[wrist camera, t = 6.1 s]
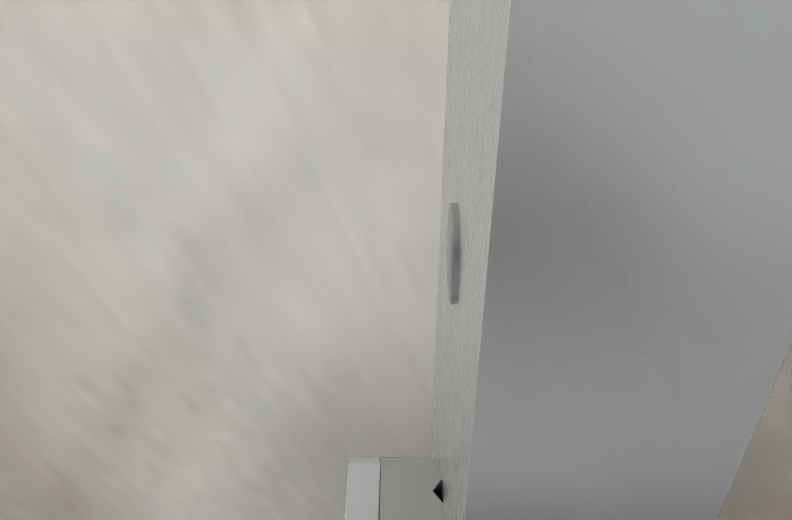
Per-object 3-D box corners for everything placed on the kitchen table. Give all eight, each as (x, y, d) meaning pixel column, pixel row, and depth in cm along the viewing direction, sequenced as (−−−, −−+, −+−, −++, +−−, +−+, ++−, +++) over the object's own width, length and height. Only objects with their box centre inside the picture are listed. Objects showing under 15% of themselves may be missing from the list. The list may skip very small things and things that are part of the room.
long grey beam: (421, 640, 17) (428, 899, 13) (450, -102, 8) (504, -23, 4) (521, 640, 17) (561, 901, 13) (665, -102, 8) (952, -23, 4)
